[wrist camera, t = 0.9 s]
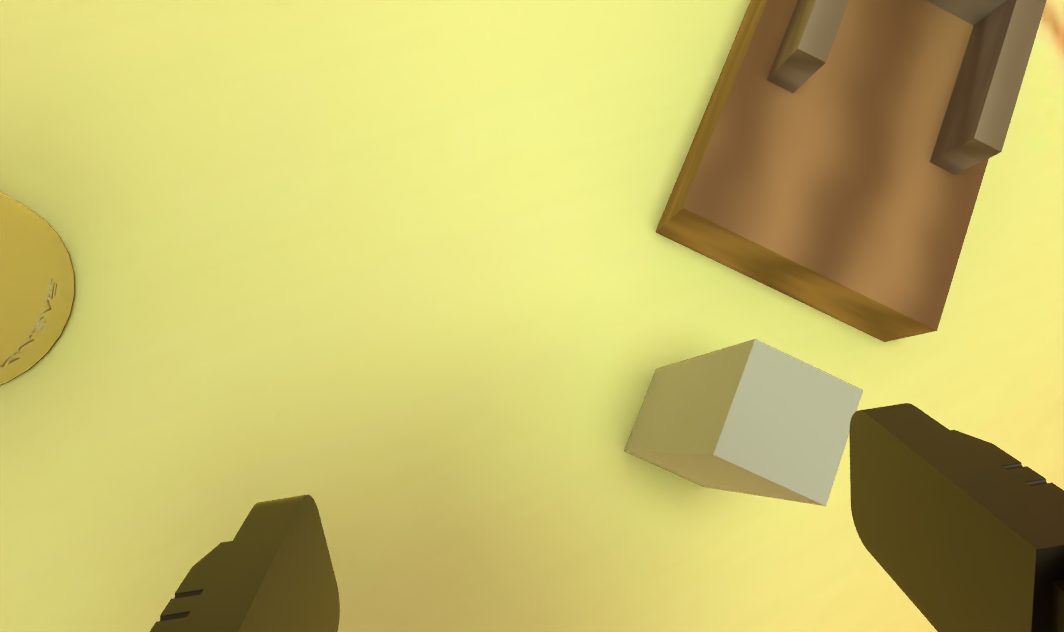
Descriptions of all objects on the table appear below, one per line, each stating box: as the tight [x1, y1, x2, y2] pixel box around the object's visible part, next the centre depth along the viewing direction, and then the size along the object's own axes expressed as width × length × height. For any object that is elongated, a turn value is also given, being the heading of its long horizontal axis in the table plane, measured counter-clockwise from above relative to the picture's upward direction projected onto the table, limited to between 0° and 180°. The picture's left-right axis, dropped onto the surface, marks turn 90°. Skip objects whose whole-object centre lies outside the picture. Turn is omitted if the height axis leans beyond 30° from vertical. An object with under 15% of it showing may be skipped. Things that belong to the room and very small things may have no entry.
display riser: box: [656, 0, 1046, 342], centre depth 38 cm, size 14×22×7 cm, turn 156°
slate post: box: [624, 339, 863, 506], centre depth 31 cm, size 4×4×11 cm
